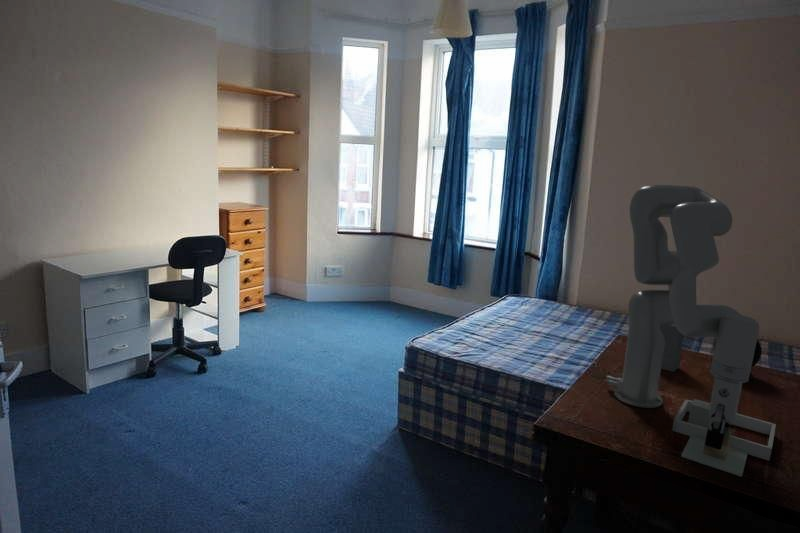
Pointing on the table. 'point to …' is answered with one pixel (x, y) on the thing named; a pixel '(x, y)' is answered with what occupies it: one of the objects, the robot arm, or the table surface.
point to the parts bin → (735, 442)
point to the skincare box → (671, 347)
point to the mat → (731, 464)
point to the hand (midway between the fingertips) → (716, 438)
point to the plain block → (699, 413)
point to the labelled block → (724, 449)
